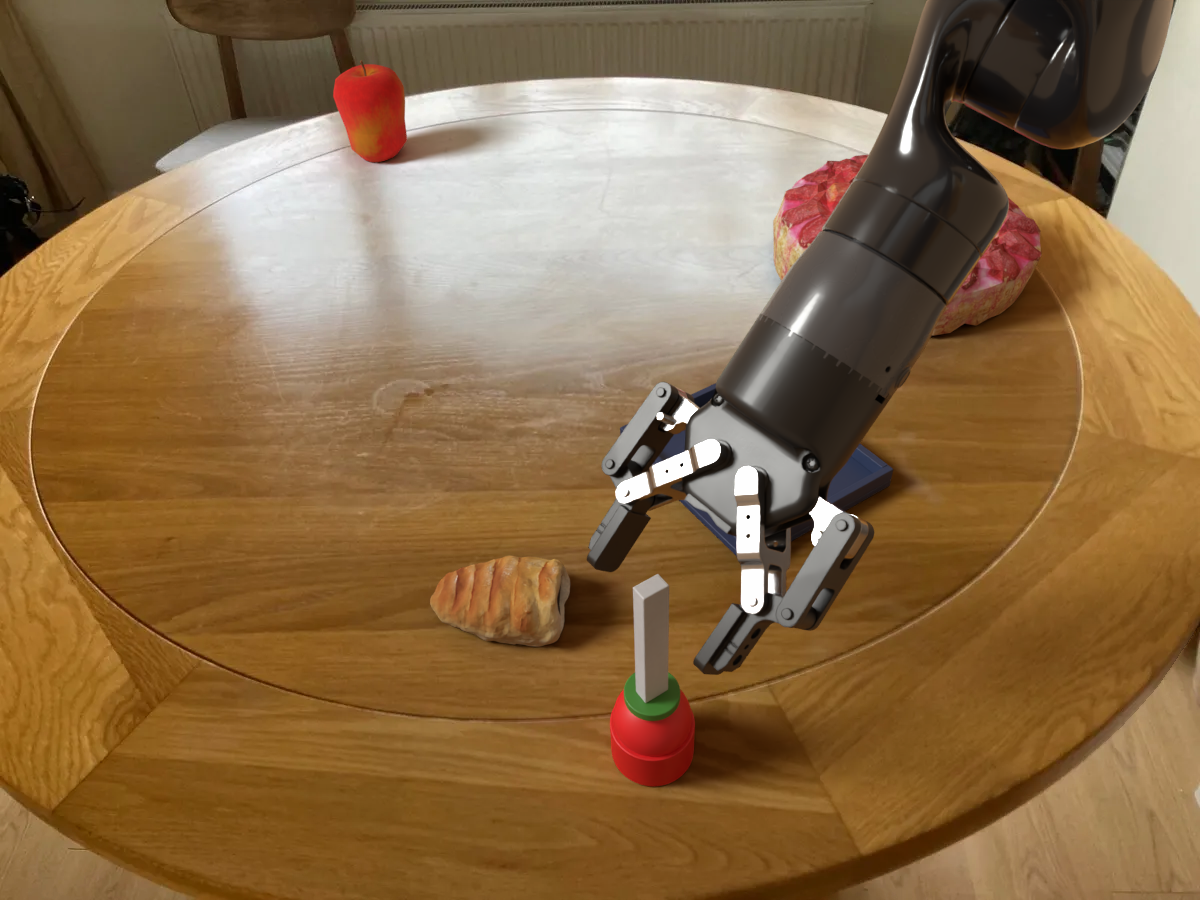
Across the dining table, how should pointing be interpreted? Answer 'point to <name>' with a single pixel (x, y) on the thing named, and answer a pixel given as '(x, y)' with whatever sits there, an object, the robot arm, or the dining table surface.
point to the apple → (372, 110)
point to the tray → (845, 489)
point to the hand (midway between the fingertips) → (650, 616)
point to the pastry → (506, 600)
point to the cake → (982, 290)
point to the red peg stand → (652, 699)
